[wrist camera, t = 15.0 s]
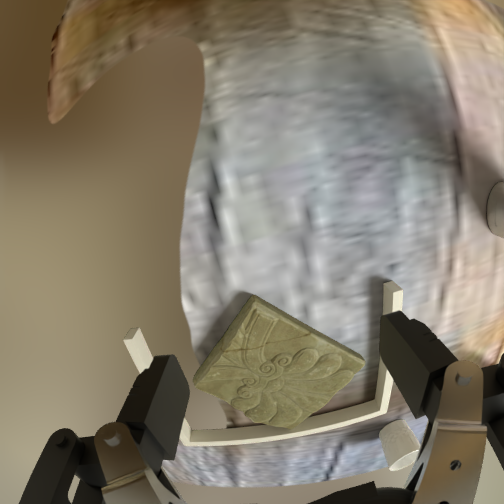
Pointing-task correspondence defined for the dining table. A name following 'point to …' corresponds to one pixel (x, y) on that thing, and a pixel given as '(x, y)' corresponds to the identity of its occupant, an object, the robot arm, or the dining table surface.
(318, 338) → the decorative tile
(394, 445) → the white cup
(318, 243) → the dining table surface
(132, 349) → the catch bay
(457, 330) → the dining table surface
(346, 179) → the dining table surface
